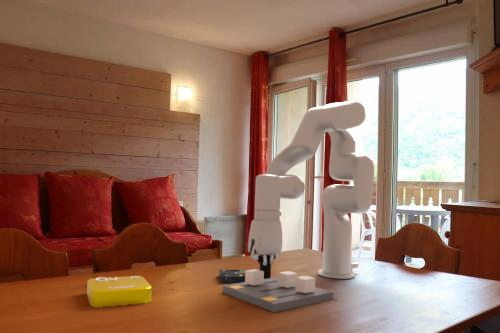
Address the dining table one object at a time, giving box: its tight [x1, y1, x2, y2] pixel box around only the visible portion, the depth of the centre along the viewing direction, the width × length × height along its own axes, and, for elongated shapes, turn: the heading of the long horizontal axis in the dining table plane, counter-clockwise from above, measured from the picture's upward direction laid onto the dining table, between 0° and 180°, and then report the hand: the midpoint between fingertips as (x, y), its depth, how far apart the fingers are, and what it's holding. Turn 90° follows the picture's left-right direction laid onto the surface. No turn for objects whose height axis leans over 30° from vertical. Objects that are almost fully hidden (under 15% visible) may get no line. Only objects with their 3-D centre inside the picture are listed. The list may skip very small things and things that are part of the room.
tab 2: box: [278, 270, 298, 288], centre depth 127 cm, size 4×4×4 cm
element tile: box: [86, 275, 153, 308], centre depth 118 cm, size 15×15×5 cm
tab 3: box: [295, 275, 316, 293], centre depth 122 cm, size 4×4×4 cm
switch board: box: [222, 276, 334, 313], centre depth 125 cm, size 22×22×2 cm
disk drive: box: [218, 269, 246, 284], centre depth 144 cm, size 10×3×15 cm
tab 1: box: [244, 268, 264, 285], centre depth 129 cm, size 4×4×4 cm
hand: (264, 277), depth 131 cm, fingers closed
